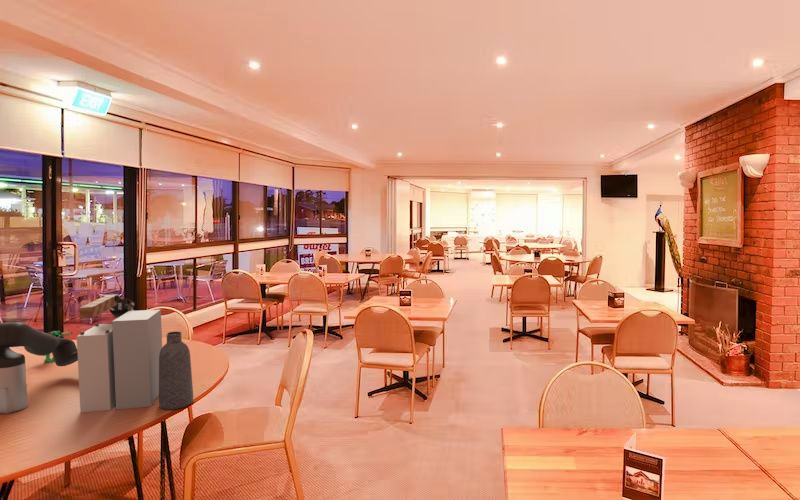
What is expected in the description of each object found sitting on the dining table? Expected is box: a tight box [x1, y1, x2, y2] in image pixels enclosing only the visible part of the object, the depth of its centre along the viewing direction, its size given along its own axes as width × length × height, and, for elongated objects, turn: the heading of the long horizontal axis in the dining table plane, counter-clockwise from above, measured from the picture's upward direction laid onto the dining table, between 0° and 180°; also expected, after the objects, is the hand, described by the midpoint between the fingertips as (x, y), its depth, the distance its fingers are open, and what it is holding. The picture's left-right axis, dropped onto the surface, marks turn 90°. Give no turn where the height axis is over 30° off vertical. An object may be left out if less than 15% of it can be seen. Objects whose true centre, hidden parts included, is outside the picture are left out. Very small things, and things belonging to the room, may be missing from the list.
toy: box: [43, 330, 73, 363], centre depth 240 cm, size 26×6×15 cm, turn 168°
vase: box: [158, 331, 194, 411], centre depth 183 cm, size 12×12×28 cm
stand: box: [76, 309, 163, 413], centre depth 187 cm, size 20×24×34 cm
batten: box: [79, 293, 120, 320], centre depth 184 cm, size 28×4×4 cm, turn 14°
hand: (109, 297), depth 193 cm, fingers closed on batten, 4 cm apart
